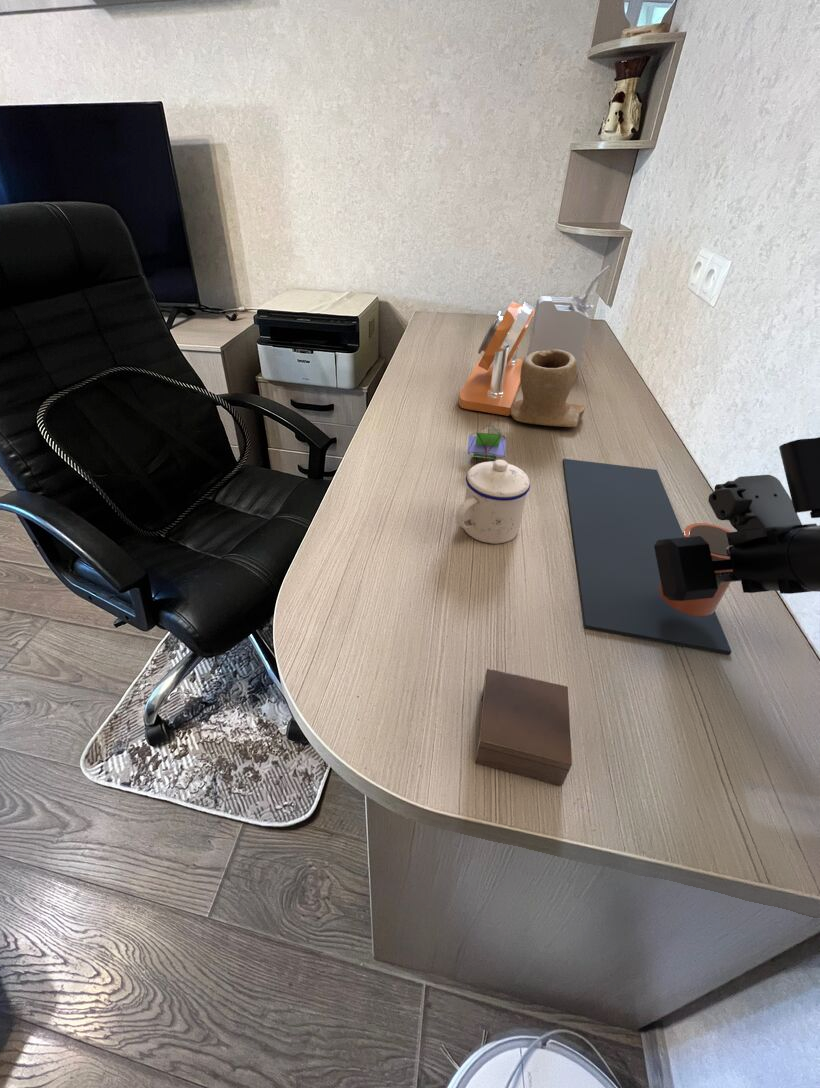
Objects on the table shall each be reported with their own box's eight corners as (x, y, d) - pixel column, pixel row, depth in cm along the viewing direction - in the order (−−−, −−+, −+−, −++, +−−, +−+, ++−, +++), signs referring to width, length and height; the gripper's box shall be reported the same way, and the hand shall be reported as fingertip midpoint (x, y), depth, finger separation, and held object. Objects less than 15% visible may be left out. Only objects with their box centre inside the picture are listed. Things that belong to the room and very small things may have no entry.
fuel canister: (584, 366, 132) (610, 264, 118) (588, 373, 128) (615, 268, 114) (525, 362, 134) (543, 262, 120) (526, 369, 130) (546, 266, 116)
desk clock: (528, 369, 130) (543, 288, 119) (511, 418, 107) (528, 323, 96) (481, 363, 134) (491, 283, 122) (454, 409, 111) (464, 317, 99)
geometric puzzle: (505, 467, 87) (511, 422, 87) (465, 463, 88) (471, 418, 88) (501, 471, 94) (506, 429, 94) (464, 467, 95) (469, 425, 95)
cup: (727, 616, 58) (761, 558, 53) (674, 616, 58) (703, 558, 53) (698, 578, 63) (726, 522, 58) (649, 578, 63) (673, 522, 58)
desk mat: (729, 655, 58) (732, 651, 58) (584, 628, 61) (585, 625, 61) (655, 472, 90) (656, 469, 89) (562, 461, 93) (563, 458, 93)
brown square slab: (562, 786, 46) (572, 764, 44) (474, 763, 48) (480, 741, 46) (559, 708, 52) (567, 686, 50) (482, 690, 54) (487, 667, 52)
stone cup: (506, 429, 103) (518, 359, 95) (511, 405, 112) (522, 339, 104) (583, 440, 99) (604, 368, 91) (582, 415, 109) (600, 347, 100)
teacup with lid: (488, 502, 82) (498, 440, 76) (532, 530, 76) (547, 466, 70) (433, 529, 77) (439, 464, 70) (476, 562, 71) (487, 495, 64)
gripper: (886, 463, 47) (747, 492, 62) (701, 477, 45) (605, 504, 60) (919, 584, 45) (768, 583, 60) (728, 604, 43) (622, 598, 58)
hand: (691, 564), depth 60 cm, fingers closed on cup, 6 cm apart
